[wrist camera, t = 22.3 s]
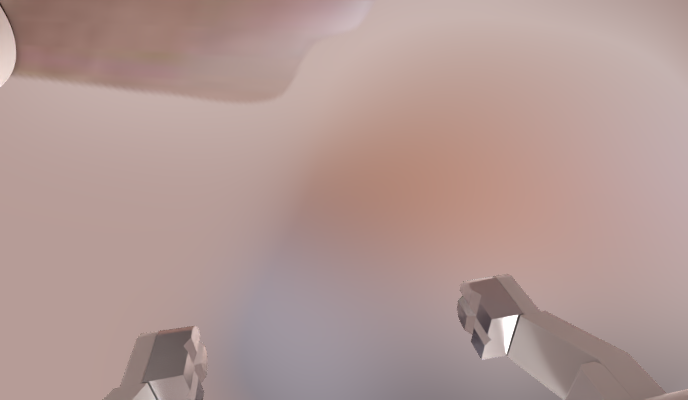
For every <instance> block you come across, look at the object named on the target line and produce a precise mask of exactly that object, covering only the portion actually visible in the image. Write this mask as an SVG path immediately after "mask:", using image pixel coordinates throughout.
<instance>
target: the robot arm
mask: <svg viewBox="0 0 688 400" xmlns="http://www.w3.org/2000/svg"><path fill="white" fill-rule="evenodd" d="M15 60H16V45H15V39H14V35H13V31H12V29H11V26H10V23H9V21H8V19H7V17H6V15H5V13H4V12H3V10H2V8H1V7H0V87H1V86H2V85H3V84H4V83H5V82H6V81H7V80H8V78H9V77H10V75H11V73H12V71H13V68H14V65H15ZM460 291H461V293H462V295H463V296H462V297H461V298H460V299H459V300H458V306H457V311H458V317H459V320H460V322H461V324H462V326H463V328H464V330H465V331H467V332H469V333H470V334H472V339H471V342H472V344H473V346H474V348H475V350H476V351H477V353H478V355H479V356H480V358H481V360H484V359H489V358H496V357H502V356H507V357H508V358H509V359H511V360H512V361H513V362H515V363H516V364H517V365H519V366H520V367H521V368H522V369H524V370H525V371H526V372H528V373H529V374H530V375H532V376H533V377H534V378H536V379H537V380H538V381H539V382H541V383H542V384H543V385H545V386H546V387H547V388H549V389H550V390H551V391H553V392H554V393H555V394H556V395H558V396H559V397H561V398H562V399H563V400H688V389H686V390H682V391H677V392H673V393H668V394H667V393H666V392H665V391H664V390H663V389H662V388H661V387H660V386H659V385H658V384H657V383H656V382H655V381H654V380H653V379H652V378H651V377H650V375H648V373H647V372H646V371H645V370H644V369H643V368H642V367H641V366H640V365H639V364H638V363H637V362H636V361H635V360H634V359H633V358H632V357H631V356H630V355H629V354H628V353H626V352H625V351H623V350H621V349H618V348H617V347H615V346H613V345H611V344H609V343H607V342H605V341H603V340H601V339H599V338H597V337H595V336H593V335H591V334H589V333H588V332H586V331H583V330H582V329H580V328H578V327H576V326H574V325H572V324H570V323H568V322H566V321H564V320H562V319H560V318H558V317H556V316H554V315H552V314H551V313H548V312H547V311H540V310H539V309H538V307H537V306H536V305H535V304H534V303H533V301H532V300H531V299H530V298H529V297H528V295H527V294H526V293H525V292H524V291H523V289H522V288H521V287H520V286H519V284H518V283H517V282H516V281H515V280H514V279H513V277H512V276H511V275H509V274H504V275H498V276H493V277H486V278H480V279H474V280H469V281H463V283H462V284H461V287H460ZM199 339H200V332H199V329H198V327H197V326H191V327H184V328H177V329H170V330H163V331H157V332H150V333H143V334H140V336H139V337H138V338H137V339H136V342H135V345H134V348H133V351H132V354H131V356H130V360H129V362H128V365H127V368H126V371H125V373H124V376H123V379H122V382H121V385H120V387H119V388H115V389H113V390H112V391H111V392H110V393H109V394H108V395H107V396H106V397H105V398H104V399H103V400H203V396H204V390H203V388H202V385H201V382H203V380H204V379H205V378H206V375H207V353H206V348H205V345H204V344H203V343H202V342H200V341H199Z"/></svg>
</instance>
